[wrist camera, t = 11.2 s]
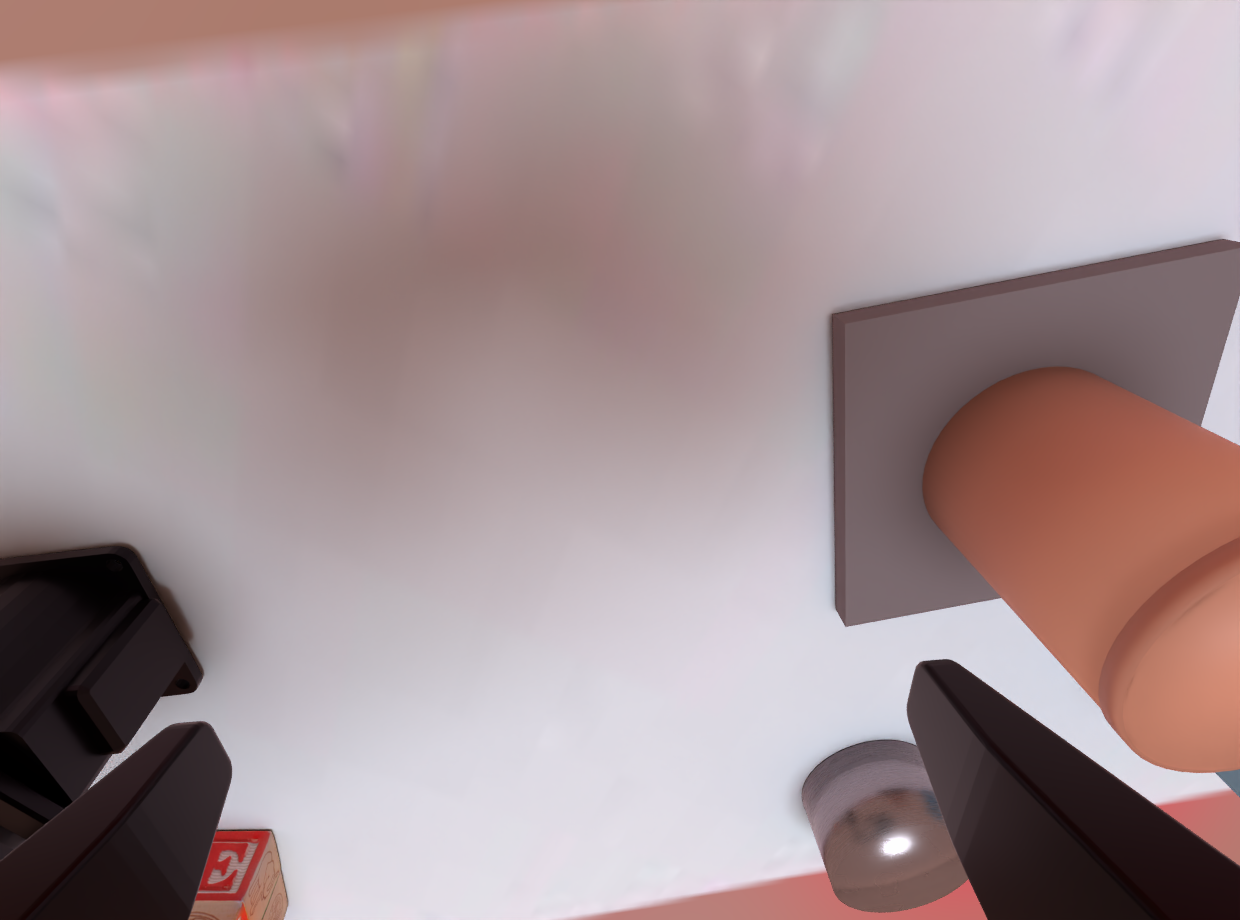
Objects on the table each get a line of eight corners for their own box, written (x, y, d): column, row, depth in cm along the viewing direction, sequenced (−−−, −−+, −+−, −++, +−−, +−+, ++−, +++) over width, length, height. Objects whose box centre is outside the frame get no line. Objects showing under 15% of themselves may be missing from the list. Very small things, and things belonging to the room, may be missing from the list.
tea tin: (798, 833, 33) (827, 920, 29) (805, 749, 29) (838, 836, 26) (923, 817, 33) (966, 902, 29) (943, 732, 30) (994, 816, 26)
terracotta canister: (968, 580, 24) (1166, 811, 16) (884, 451, 21) (1074, 654, 13) (1154, 473, 22) (1479, 672, 14) (1091, 318, 19) (1453, 458, 11)
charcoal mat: (835, 609, 25) (845, 626, 25) (832, 314, 20) (845, 324, 19) (1137, 552, 25) (1158, 568, 24) (1223, 238, 20) (1255, 245, 19)
